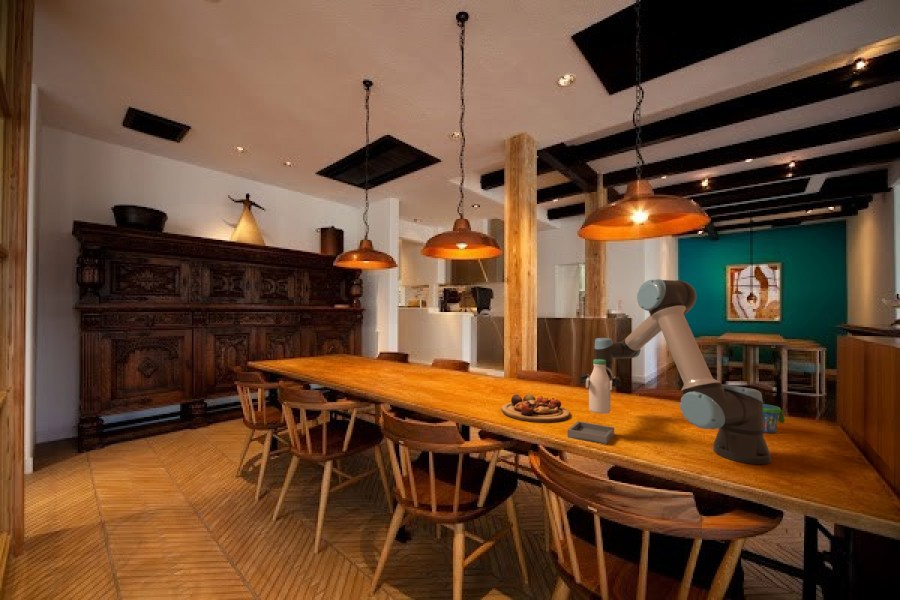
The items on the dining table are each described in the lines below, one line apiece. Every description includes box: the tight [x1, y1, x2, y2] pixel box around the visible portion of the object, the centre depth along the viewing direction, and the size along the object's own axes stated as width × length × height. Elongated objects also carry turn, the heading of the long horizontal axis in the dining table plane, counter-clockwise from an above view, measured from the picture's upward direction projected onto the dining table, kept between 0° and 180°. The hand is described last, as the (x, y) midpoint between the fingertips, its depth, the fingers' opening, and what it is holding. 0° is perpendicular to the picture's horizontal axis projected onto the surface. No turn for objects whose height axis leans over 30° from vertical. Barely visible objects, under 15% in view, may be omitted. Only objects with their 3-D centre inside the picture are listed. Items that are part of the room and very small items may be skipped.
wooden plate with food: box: [500, 393, 571, 423], centre depth 171 cm, size 32×32×8 cm
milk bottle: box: [588, 358, 612, 415], centre depth 139 cm, size 8×8×20 cm
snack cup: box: [763, 403, 786, 434], centre depth 148 cm, size 16×10×10 cm
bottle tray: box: [567, 421, 615, 446], centre depth 139 cm, size 14×14×3 cm
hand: (598, 385), depth 135 cm, fingers closed on milk bottle, 8 cm apart
